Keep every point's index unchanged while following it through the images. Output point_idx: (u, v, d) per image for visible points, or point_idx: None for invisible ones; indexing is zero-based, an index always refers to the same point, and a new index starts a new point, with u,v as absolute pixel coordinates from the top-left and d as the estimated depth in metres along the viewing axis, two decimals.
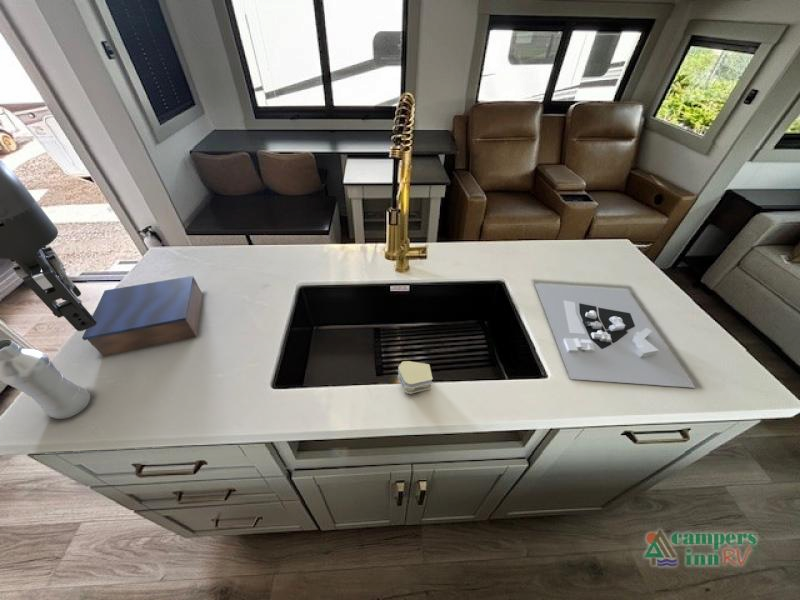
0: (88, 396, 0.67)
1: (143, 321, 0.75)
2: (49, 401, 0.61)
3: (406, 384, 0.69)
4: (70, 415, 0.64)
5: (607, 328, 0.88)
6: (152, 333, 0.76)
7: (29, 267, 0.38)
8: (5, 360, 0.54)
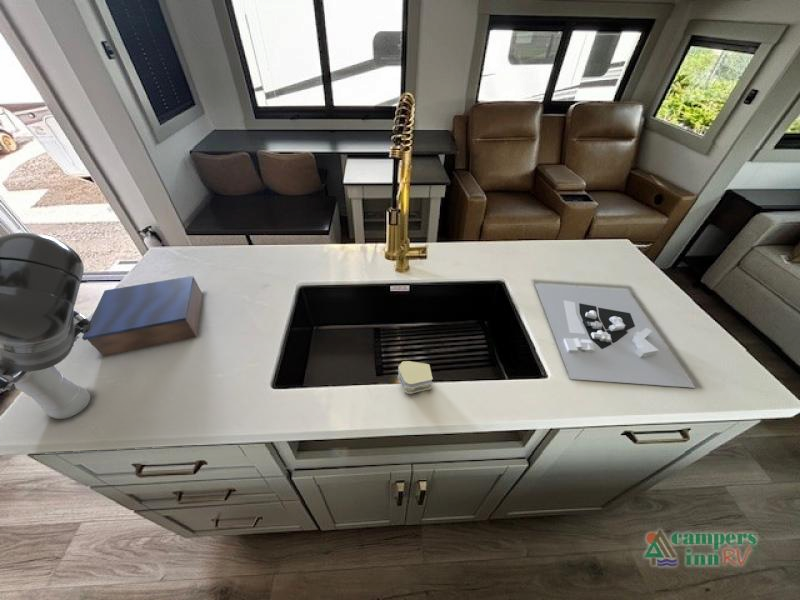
0: (88, 396, 0.67)
1: (143, 321, 0.75)
2: (49, 401, 0.61)
3: (406, 384, 0.69)
4: (70, 415, 0.64)
5: (607, 328, 0.88)
6: (152, 333, 0.76)
7: (0, 366, 0.43)
8: None
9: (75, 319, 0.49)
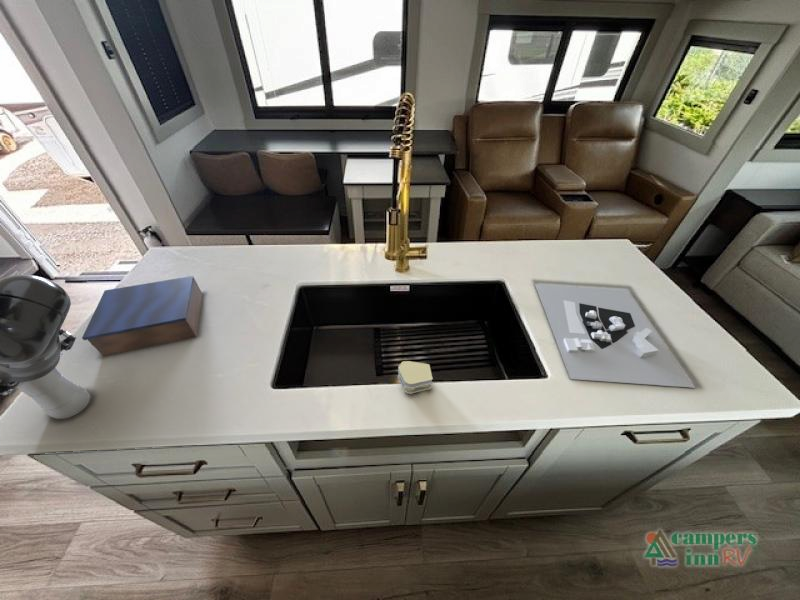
0: (88, 396, 0.67)
1: (143, 321, 0.75)
2: (49, 401, 0.61)
3: (406, 384, 0.69)
4: (70, 415, 0.64)
5: (607, 328, 0.88)
6: (152, 333, 0.76)
7: None
8: None
9: (62, 336, 0.57)
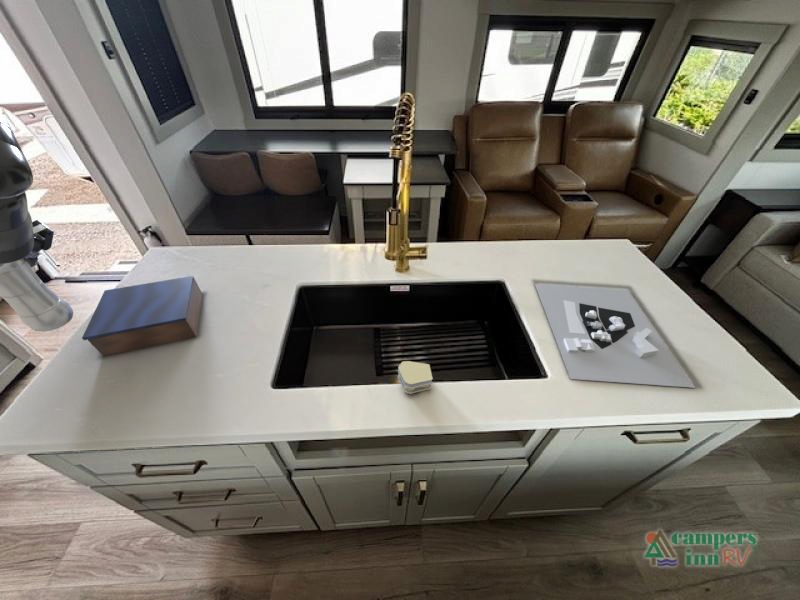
0: (71, 310, 0.62)
1: (143, 321, 0.75)
2: (26, 306, 0.56)
3: (406, 384, 0.69)
4: (50, 327, 0.59)
5: (607, 328, 0.88)
6: (152, 333, 0.76)
7: None
8: None
9: (38, 227, 0.52)
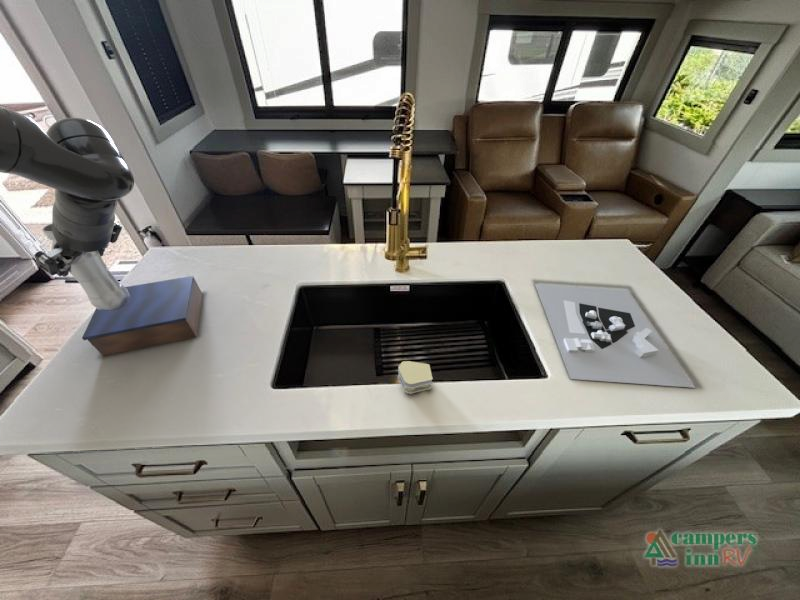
0: (128, 294, 0.73)
1: (143, 321, 0.75)
2: (96, 289, 0.67)
3: (406, 384, 0.69)
4: (113, 307, 0.70)
5: (607, 328, 0.88)
6: (152, 333, 0.76)
7: (58, 247, 0.57)
8: None
9: None
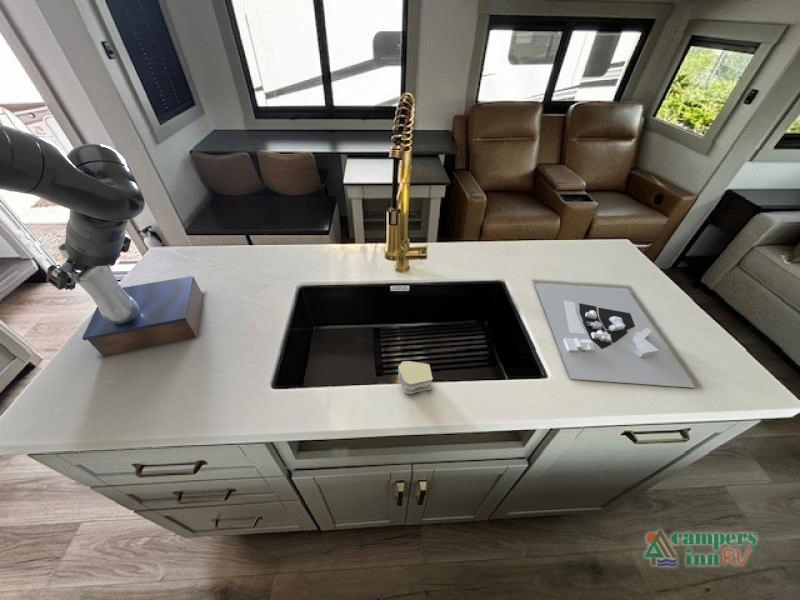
0: (138, 307, 0.76)
1: (143, 321, 0.75)
2: (108, 303, 0.70)
3: (406, 384, 0.69)
4: (123, 320, 0.73)
5: (607, 328, 0.88)
6: (152, 333, 0.76)
7: (70, 261, 0.59)
8: None
9: None
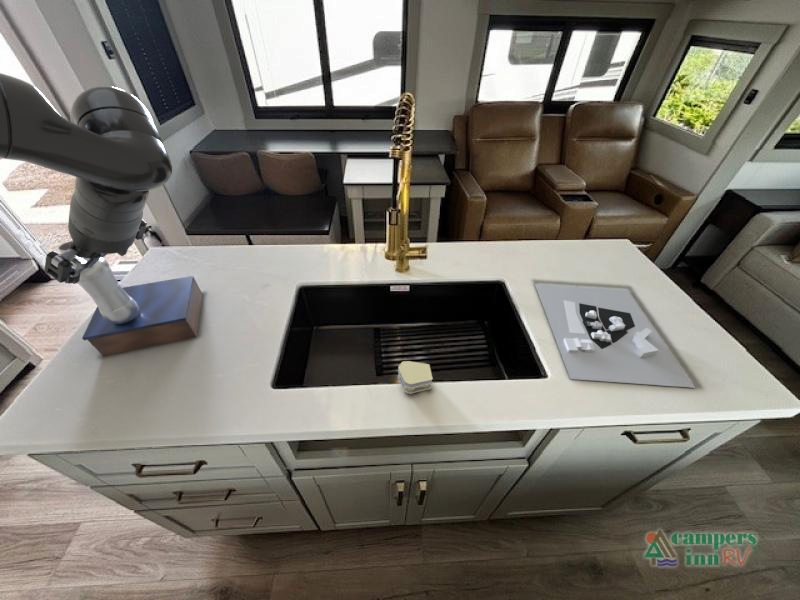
0: (138, 307, 0.76)
1: (143, 321, 0.75)
2: (108, 303, 0.70)
3: (406, 384, 0.69)
4: (123, 320, 0.73)
5: (607, 328, 0.88)
6: (152, 333, 0.76)
7: (75, 247, 0.48)
8: None
9: None
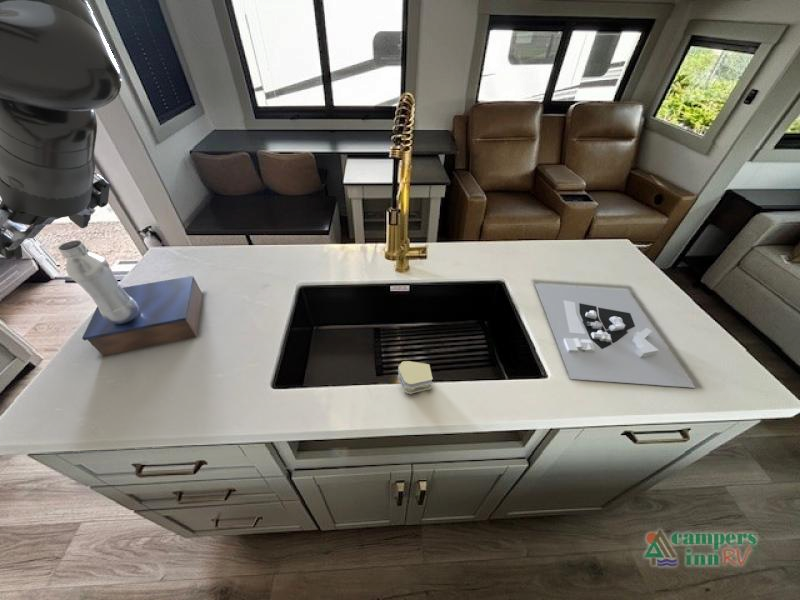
0: (138, 307, 0.76)
1: (143, 321, 0.75)
2: (108, 303, 0.70)
3: (406, 384, 0.69)
4: (123, 320, 0.73)
5: (607, 328, 0.88)
6: (152, 333, 0.76)
7: (6, 207, 0.36)
8: (76, 257, 0.63)
9: None
